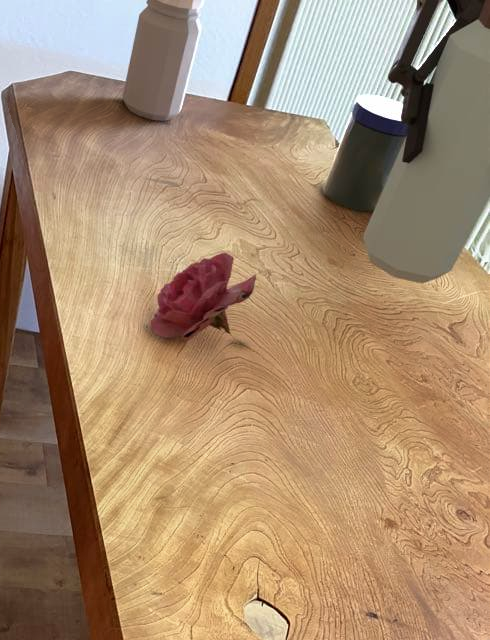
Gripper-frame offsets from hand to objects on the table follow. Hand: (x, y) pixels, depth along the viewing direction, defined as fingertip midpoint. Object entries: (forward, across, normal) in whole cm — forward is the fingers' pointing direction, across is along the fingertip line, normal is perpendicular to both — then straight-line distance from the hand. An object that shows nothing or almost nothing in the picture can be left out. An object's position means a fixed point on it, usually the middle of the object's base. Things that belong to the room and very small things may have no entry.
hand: (461, 167), depth 86 cm
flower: (+17, +21, -14) cm, 31 cm away
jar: (-29, +26, -61) cm, 72 cm away
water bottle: (+6, 0, -11) cm, 12 cm away
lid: (-26, -5, -39) cm, 47 cm away
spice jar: (-17, -5, -48) cm, 51 cm away
